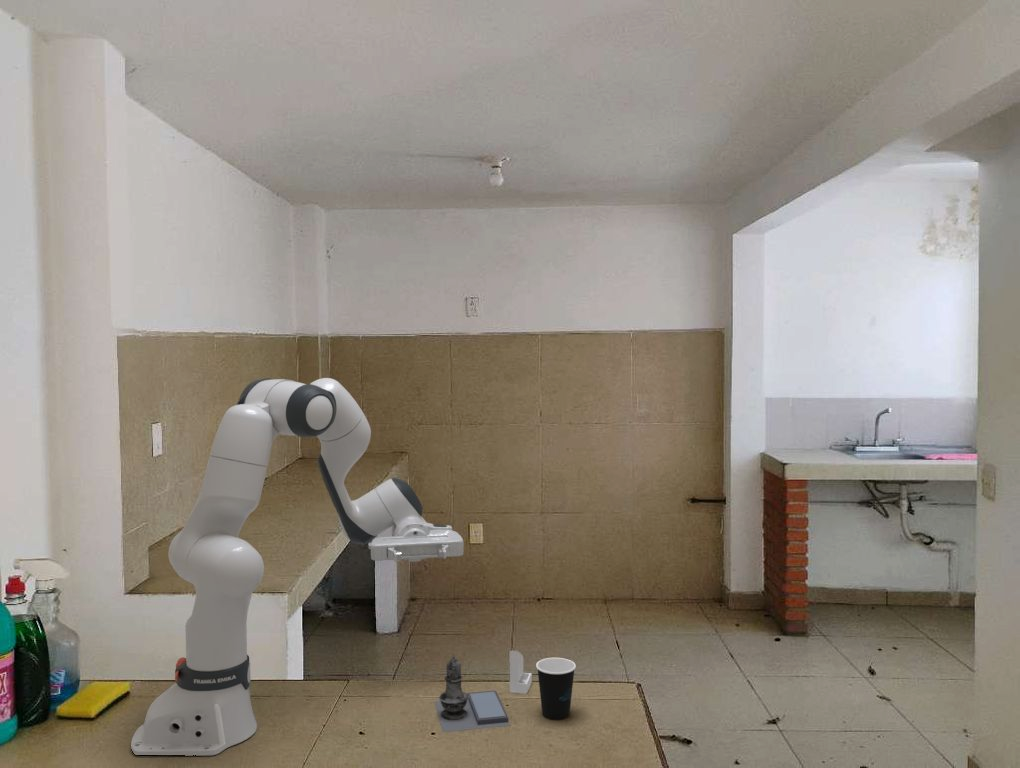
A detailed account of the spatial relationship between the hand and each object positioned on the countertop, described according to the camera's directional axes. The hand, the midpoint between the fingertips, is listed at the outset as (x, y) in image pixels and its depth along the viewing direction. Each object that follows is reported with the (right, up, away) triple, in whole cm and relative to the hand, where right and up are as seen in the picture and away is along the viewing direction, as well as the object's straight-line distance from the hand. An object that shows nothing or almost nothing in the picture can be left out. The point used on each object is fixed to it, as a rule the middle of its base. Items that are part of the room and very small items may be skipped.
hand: (420, 556), depth 179 cm
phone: (+14, -29, -8) cm, 33 cm away
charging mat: (+11, -30, -9) cm, 34 cm away
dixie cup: (+28, -31, -10) cm, 43 cm away
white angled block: (+21, -30, +3) cm, 37 cm away
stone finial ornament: (+8, -30, -10) cm, 32 cm away
